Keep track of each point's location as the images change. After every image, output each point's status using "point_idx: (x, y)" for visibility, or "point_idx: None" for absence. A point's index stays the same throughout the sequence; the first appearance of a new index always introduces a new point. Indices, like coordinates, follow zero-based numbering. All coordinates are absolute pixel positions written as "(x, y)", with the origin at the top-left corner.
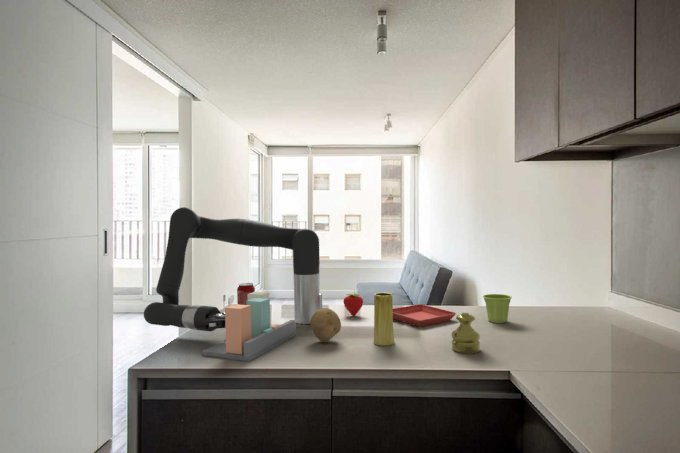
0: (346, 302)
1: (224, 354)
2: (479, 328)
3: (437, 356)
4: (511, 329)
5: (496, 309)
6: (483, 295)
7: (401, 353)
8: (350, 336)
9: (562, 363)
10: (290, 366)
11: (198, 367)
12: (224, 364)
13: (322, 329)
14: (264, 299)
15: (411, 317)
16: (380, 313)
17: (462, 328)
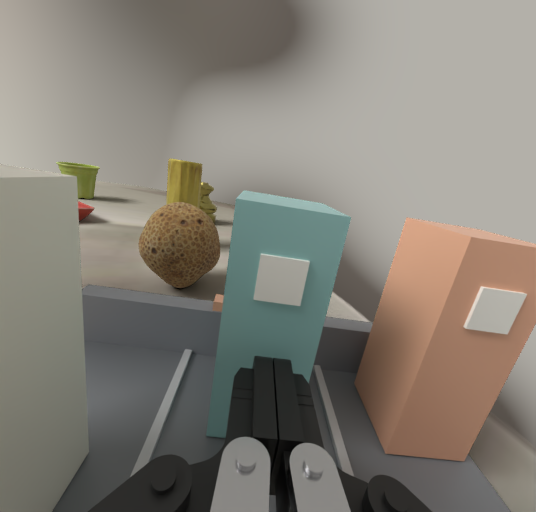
0: None
1: (473, 465)
2: (112, 206)
3: (228, 231)
4: (123, 201)
5: (92, 181)
6: (63, 164)
7: (226, 241)
8: (132, 263)
9: (224, 211)
10: (348, 308)
11: None
12: (486, 436)
13: (219, 249)
14: (267, 195)
15: None
16: (198, 195)
17: (208, 199)
